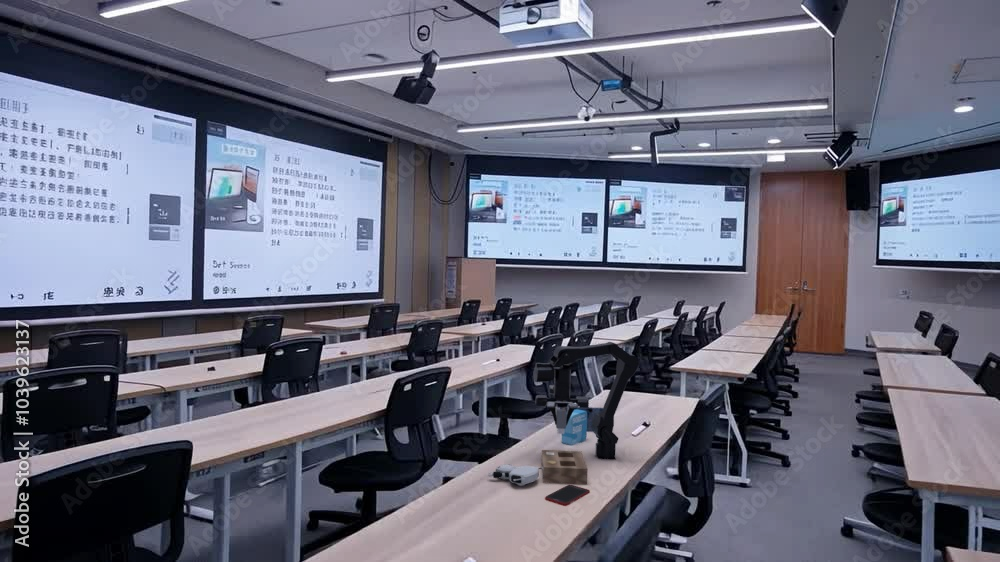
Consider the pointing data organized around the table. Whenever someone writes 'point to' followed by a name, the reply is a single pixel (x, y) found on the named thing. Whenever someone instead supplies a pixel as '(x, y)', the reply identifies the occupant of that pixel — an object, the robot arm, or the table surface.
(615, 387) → the robot arm
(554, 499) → the cell phone
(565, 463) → the socket box
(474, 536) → the table surface
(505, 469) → the robot toy
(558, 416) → the plug
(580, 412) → the data package
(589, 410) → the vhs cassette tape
